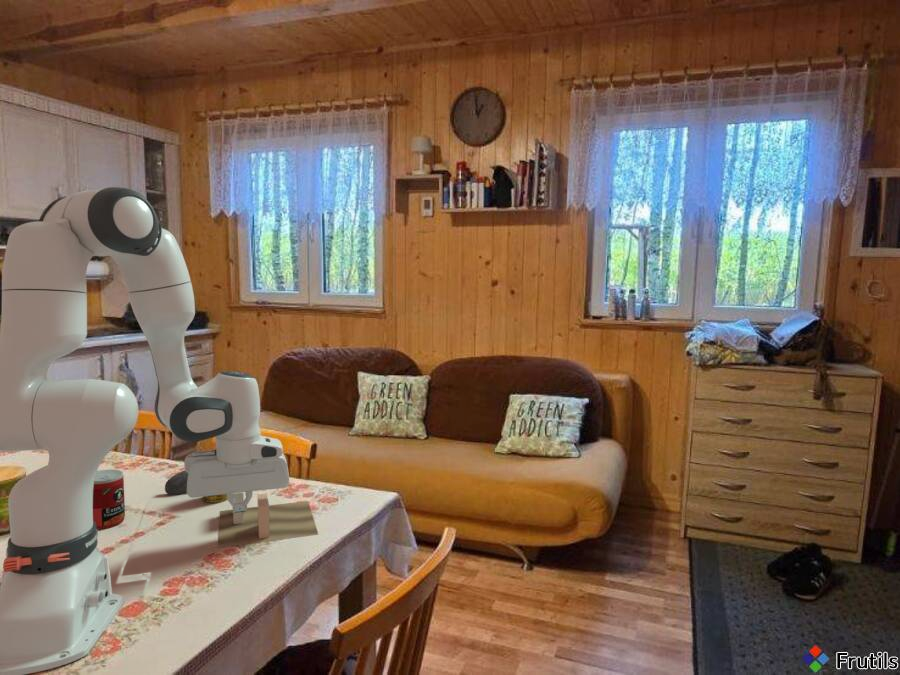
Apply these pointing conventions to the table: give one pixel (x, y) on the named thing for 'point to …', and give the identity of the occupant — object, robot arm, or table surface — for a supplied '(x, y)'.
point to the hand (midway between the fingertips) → (239, 511)
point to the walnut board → (282, 524)
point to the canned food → (108, 498)
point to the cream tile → (238, 516)
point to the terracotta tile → (263, 516)
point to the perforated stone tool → (177, 484)
